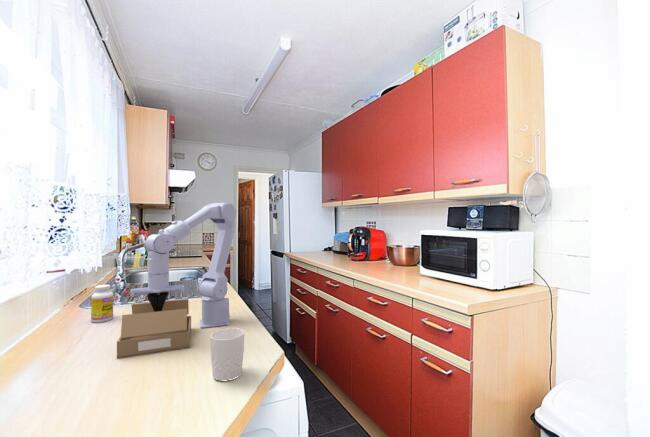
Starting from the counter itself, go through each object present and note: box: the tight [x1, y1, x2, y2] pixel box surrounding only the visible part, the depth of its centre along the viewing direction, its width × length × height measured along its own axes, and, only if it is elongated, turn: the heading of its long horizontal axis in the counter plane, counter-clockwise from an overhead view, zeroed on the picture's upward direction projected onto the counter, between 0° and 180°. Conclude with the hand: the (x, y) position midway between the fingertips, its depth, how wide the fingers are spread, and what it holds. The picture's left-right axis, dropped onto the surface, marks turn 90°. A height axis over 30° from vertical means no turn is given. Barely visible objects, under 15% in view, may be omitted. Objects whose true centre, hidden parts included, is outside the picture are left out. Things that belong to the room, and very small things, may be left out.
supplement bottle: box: [90, 284, 114, 324], centre depth 114 cm, size 7×7×13 cm
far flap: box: [131, 298, 190, 315], centre depth 100 cm, size 16×6×1 cm
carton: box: [116, 315, 192, 359], centre depth 94 cm, size 18×17×4 cm
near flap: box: [120, 309, 188, 338], centre depth 87 cm, size 16×6×1 cm
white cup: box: [209, 327, 245, 380], centre depth 74 cm, size 8×8×10 cm
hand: (158, 317), depth 94 cm, fingers closed
